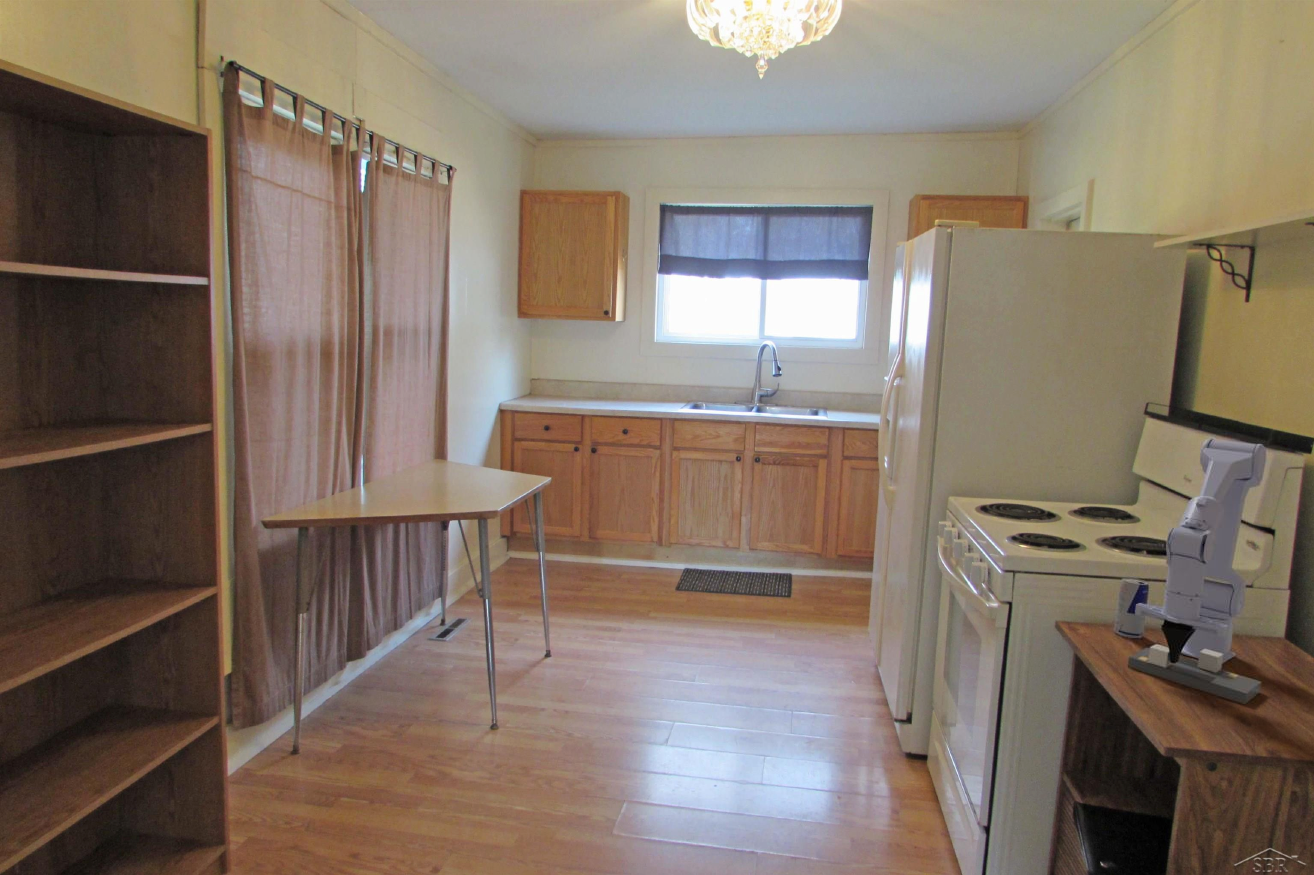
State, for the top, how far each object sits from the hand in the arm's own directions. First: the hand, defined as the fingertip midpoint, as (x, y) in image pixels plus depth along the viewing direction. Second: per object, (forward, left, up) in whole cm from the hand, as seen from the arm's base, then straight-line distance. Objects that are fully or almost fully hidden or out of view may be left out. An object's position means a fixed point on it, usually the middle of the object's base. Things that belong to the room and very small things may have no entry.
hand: (1173, 661), depth 151 cm
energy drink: (-19, -15, -3) cm, 24 cm away
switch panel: (-3, +2, -3) cm, 5 cm away
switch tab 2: (-6, +4, -1) cm, 7 cm away
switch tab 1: (0, -2, -1) cm, 3 cm away
